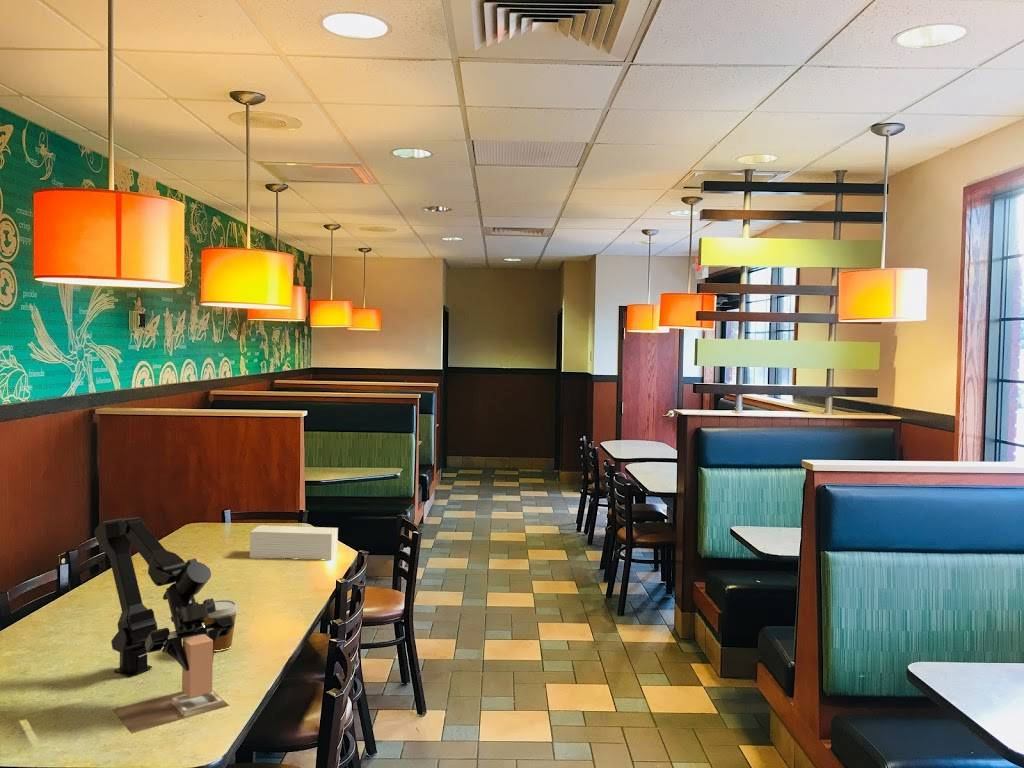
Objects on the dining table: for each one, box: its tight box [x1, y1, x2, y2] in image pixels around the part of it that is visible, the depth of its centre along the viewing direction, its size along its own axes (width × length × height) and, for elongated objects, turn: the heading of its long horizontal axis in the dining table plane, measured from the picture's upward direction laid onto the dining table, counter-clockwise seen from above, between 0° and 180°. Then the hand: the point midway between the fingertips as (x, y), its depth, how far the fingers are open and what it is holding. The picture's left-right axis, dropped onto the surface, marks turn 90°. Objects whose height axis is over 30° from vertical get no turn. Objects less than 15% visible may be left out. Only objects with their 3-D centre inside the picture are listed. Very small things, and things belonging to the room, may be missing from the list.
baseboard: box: [112, 689, 230, 734], centre depth 177 cm, size 14×21×2 cm, turn 132°
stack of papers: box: [249, 525, 339, 561], centre depth 312 cm, size 32×11×11 cm, turn 90°
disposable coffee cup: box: [203, 599, 239, 650], centre depth 215 cm, size 10×10×12 cm
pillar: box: [181, 634, 214, 698], centre depth 179 cm, size 5×5×12 cm
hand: (199, 667), depth 178 cm, fingers closed on pillar, 5 cm apart
